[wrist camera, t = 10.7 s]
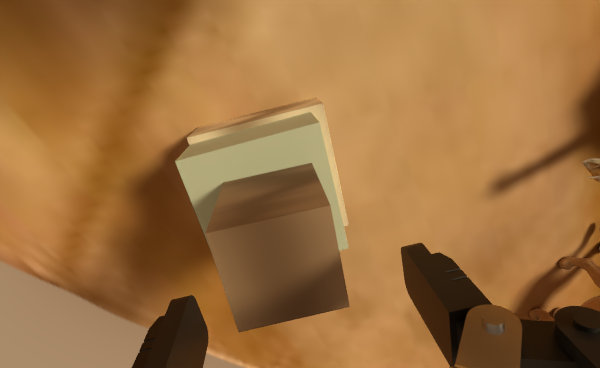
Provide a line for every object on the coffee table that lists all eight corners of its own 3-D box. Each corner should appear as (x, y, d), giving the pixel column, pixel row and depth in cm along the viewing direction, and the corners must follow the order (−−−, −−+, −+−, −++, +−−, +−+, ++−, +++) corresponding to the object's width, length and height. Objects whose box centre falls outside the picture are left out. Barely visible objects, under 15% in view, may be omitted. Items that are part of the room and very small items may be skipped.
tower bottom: (315, 97, 26) (323, 103, 22) (338, 203, 29) (348, 225, 25) (198, 126, 26) (186, 137, 22) (234, 230, 29) (229, 255, 25)
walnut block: (311, 162, 19) (330, 205, 13) (327, 240, 21) (349, 306, 15) (223, 182, 19) (204, 233, 13) (246, 258, 21) (238, 332, 15)
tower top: (310, 111, 22) (319, 122, 18) (336, 219, 25) (348, 248, 21) (190, 144, 22) (174, 161, 18) (229, 248, 25) (223, 282, 21)
